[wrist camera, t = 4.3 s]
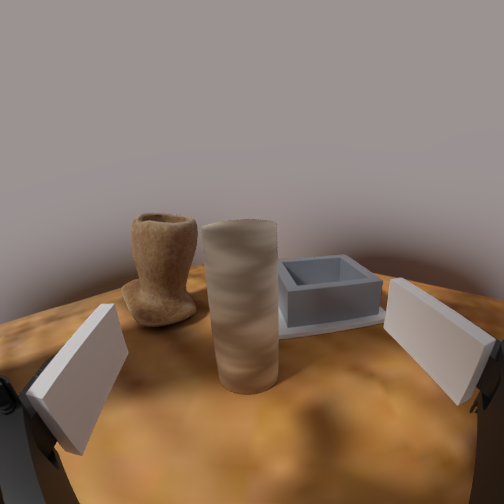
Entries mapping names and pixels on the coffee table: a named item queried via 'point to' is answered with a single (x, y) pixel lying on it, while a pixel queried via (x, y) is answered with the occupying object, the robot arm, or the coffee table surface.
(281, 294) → the well
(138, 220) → the tan boot
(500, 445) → the robot arm
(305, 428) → the coffee table surface
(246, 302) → the peg
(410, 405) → the coffee table surface
